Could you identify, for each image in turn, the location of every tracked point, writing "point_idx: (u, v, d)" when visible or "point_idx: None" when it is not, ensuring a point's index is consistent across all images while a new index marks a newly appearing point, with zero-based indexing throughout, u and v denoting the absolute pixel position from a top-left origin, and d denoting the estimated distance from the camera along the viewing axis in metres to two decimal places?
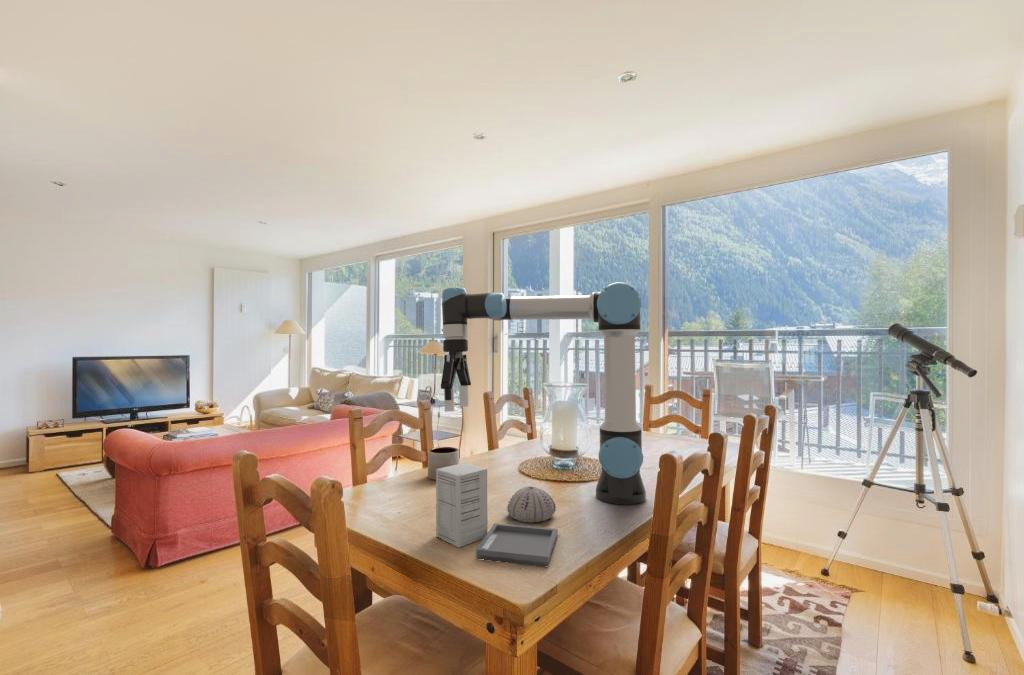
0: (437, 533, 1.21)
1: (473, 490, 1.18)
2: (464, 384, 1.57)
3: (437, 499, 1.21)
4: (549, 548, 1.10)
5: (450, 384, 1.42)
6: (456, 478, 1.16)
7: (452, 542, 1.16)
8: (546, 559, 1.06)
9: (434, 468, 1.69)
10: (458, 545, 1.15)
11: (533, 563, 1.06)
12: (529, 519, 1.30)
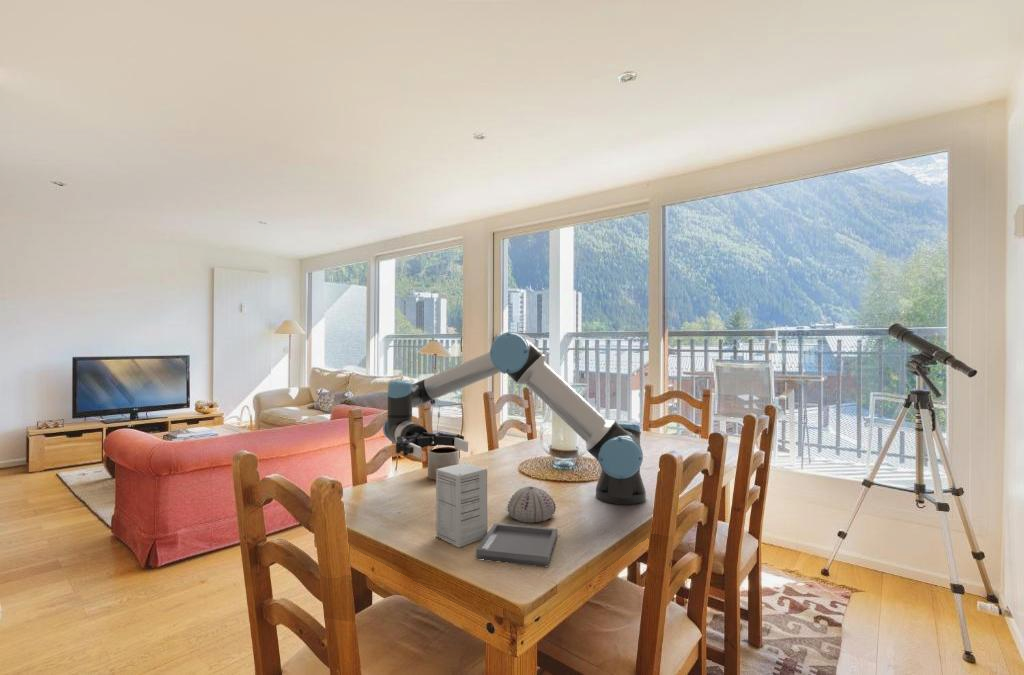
0: (437, 533, 1.21)
1: (473, 490, 1.18)
2: None
3: (437, 499, 1.21)
4: (549, 548, 1.10)
5: None
6: (456, 478, 1.16)
7: (452, 542, 1.16)
8: (546, 559, 1.06)
9: (434, 468, 1.69)
10: (458, 545, 1.15)
11: (533, 563, 1.06)
12: (529, 519, 1.30)
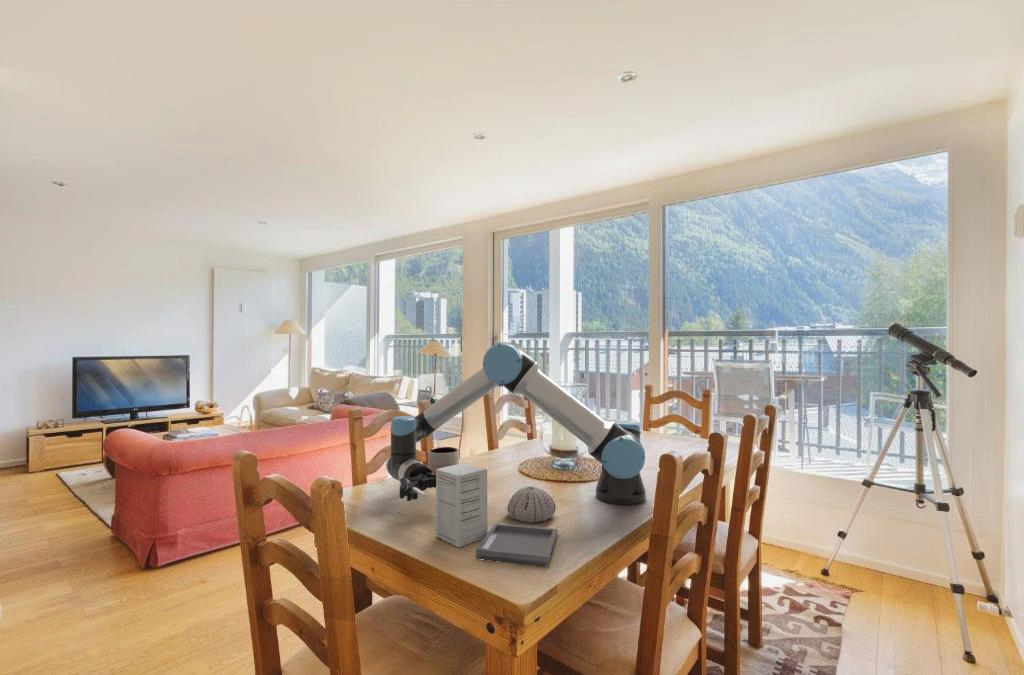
0: (437, 533, 1.21)
1: (473, 490, 1.18)
2: None
3: (437, 499, 1.21)
4: (549, 548, 1.10)
5: None
6: (456, 478, 1.16)
7: (452, 542, 1.16)
8: (546, 559, 1.06)
9: (434, 468, 1.69)
10: (458, 545, 1.15)
11: (533, 563, 1.06)
12: (529, 519, 1.30)
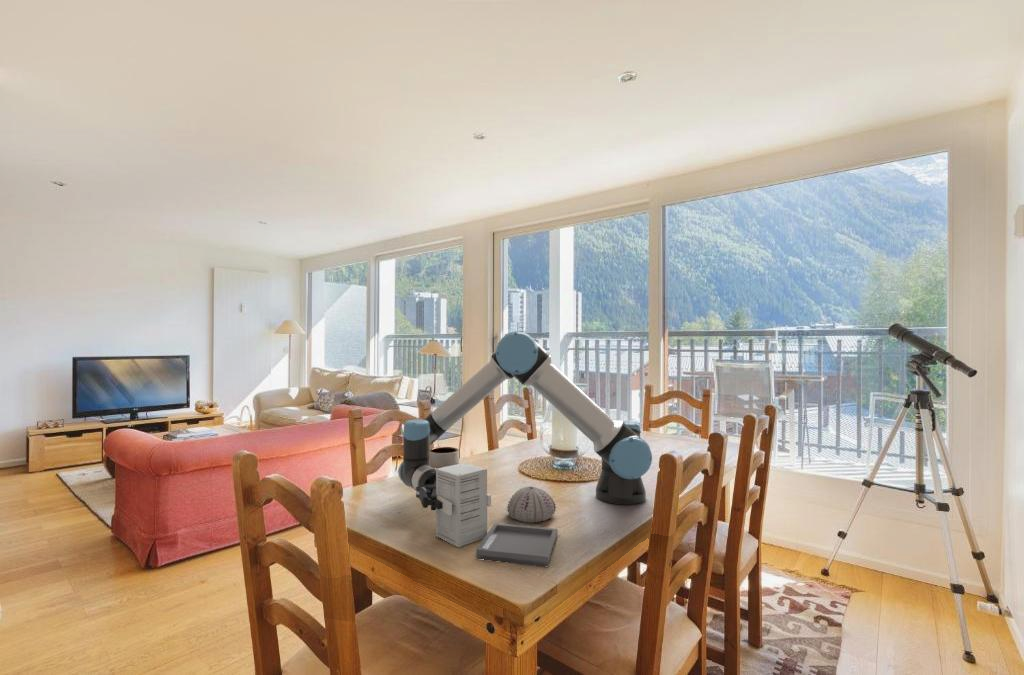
0: (437, 533, 1.21)
1: (472, 490, 1.18)
2: None
3: None
4: (549, 548, 1.10)
5: (431, 497, 1.20)
6: (456, 478, 1.16)
7: (452, 542, 1.16)
8: (546, 559, 1.06)
9: (434, 468, 1.69)
10: (458, 545, 1.15)
11: (533, 563, 1.06)
12: (529, 519, 1.30)
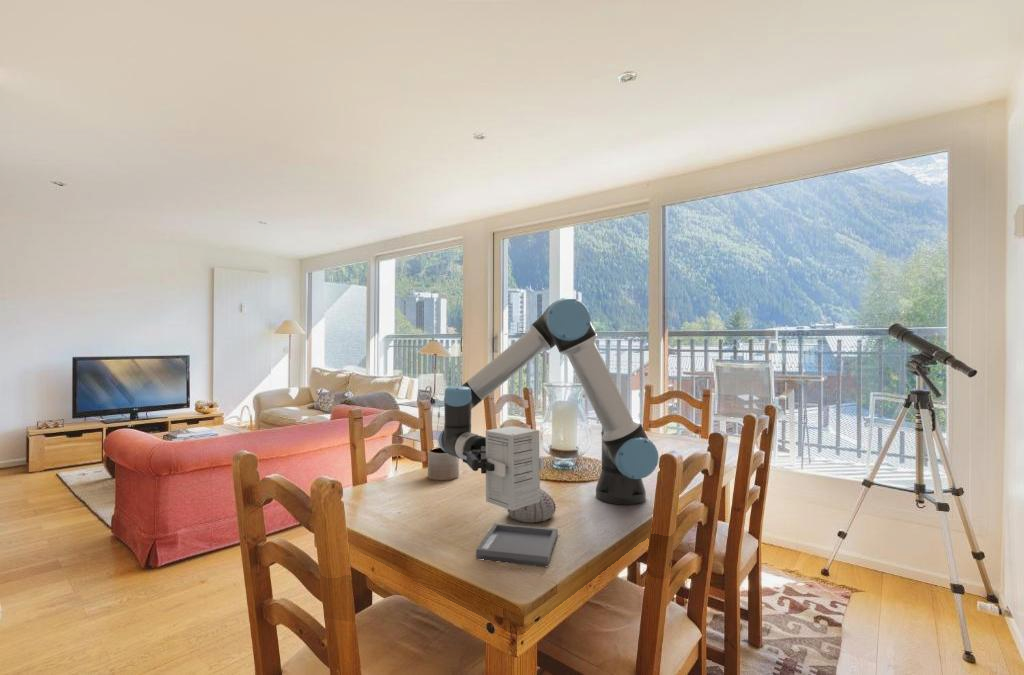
0: (487, 497, 1.15)
1: (525, 451, 1.12)
2: None
3: None
4: (549, 548, 1.10)
5: (481, 460, 1.15)
6: (509, 438, 1.10)
7: (504, 505, 1.11)
8: (546, 559, 1.06)
9: (434, 468, 1.69)
10: (511, 508, 1.09)
11: (533, 563, 1.06)
12: (529, 519, 1.30)
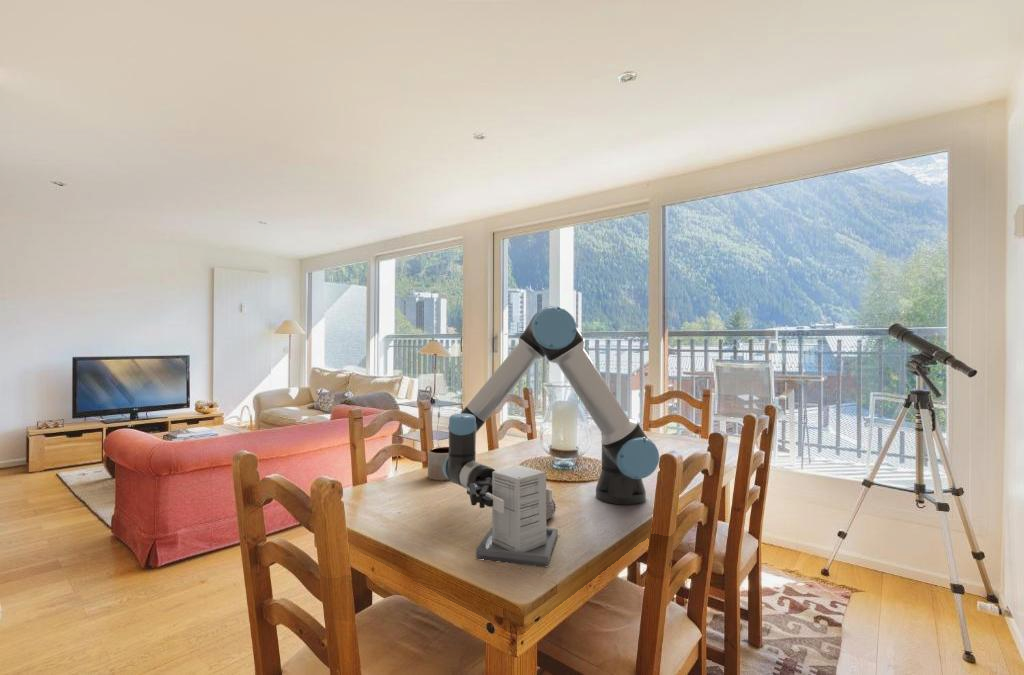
0: (493, 539, 1.15)
1: (532, 494, 1.12)
2: None
3: None
4: (549, 548, 1.10)
5: (479, 494, 1.14)
6: (515, 481, 1.10)
7: (511, 549, 1.10)
8: (546, 559, 1.06)
9: (434, 468, 1.69)
10: None
11: (533, 563, 1.06)
12: None
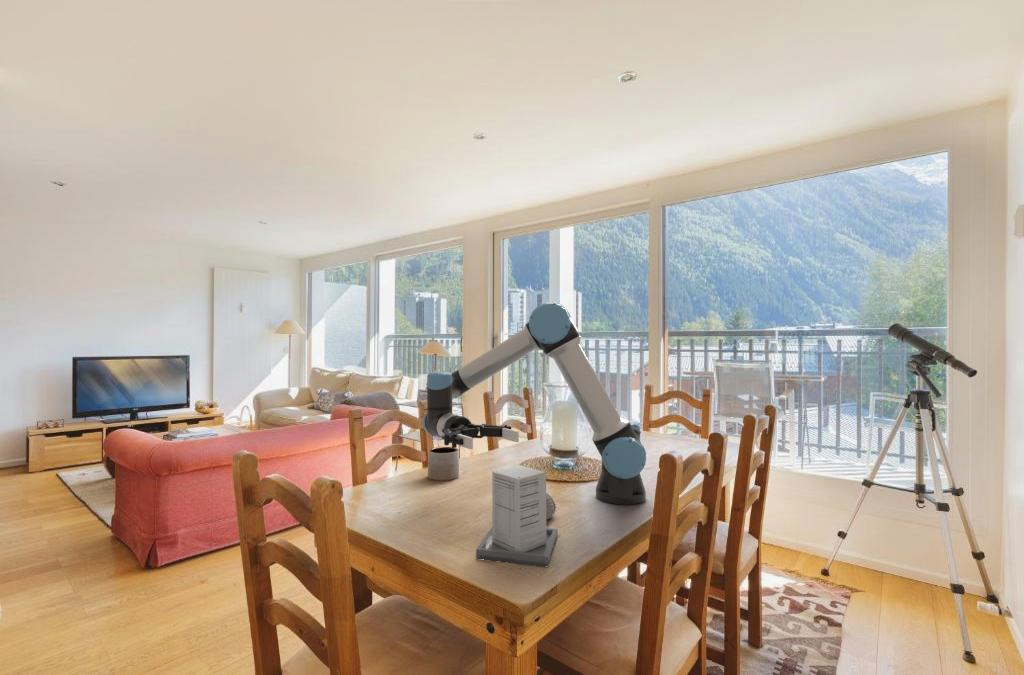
0: (493, 539, 1.15)
1: (532, 494, 1.12)
2: None
3: (494, 503, 1.15)
4: (549, 548, 1.10)
5: (452, 435, 1.25)
6: (515, 481, 1.10)
7: (511, 549, 1.10)
8: (546, 559, 1.06)
9: (434, 468, 1.69)
10: None
11: (533, 563, 1.06)
12: None
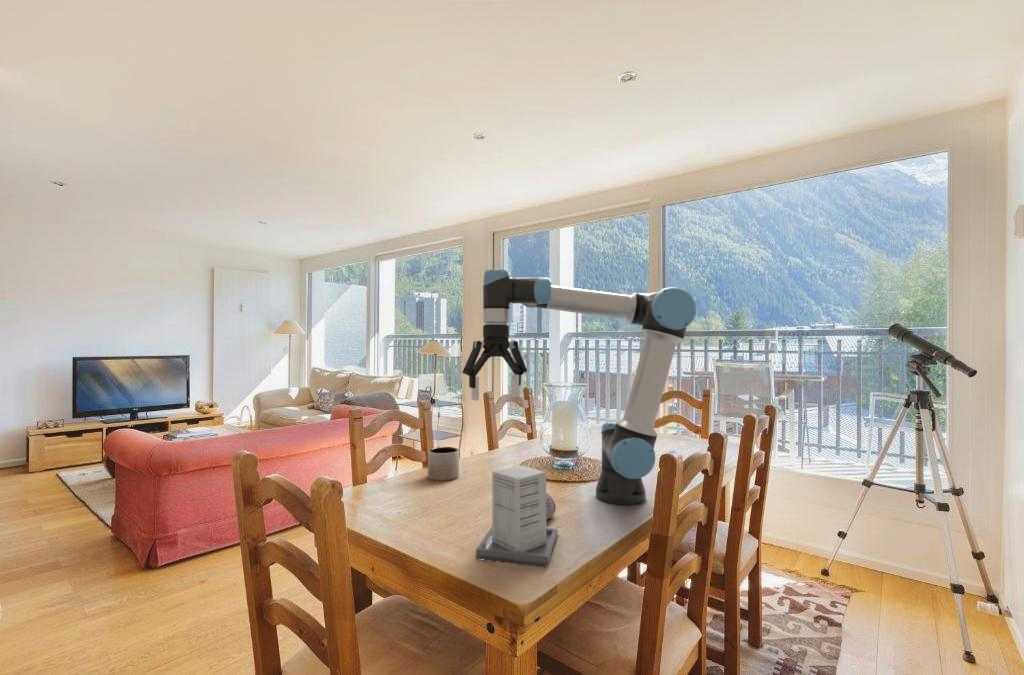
0: (493, 539, 1.15)
1: (532, 494, 1.12)
2: (516, 373, 1.45)
3: (494, 503, 1.15)
4: (549, 548, 1.10)
5: (473, 371, 1.36)
6: (515, 481, 1.10)
7: (511, 549, 1.10)
8: (546, 559, 1.06)
9: (434, 468, 1.69)
10: None
11: (533, 563, 1.06)
12: None
